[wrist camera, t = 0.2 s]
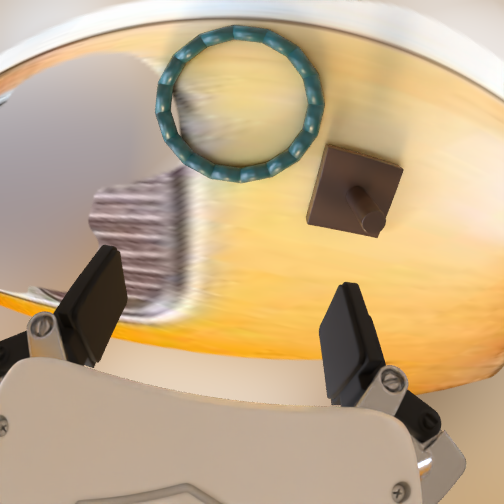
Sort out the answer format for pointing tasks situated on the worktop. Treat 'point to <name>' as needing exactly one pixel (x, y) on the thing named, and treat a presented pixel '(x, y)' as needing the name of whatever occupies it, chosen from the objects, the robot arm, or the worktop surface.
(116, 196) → the worktop surface
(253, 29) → the ring
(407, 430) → the robot arm
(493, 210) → the worktop surface
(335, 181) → the stand
